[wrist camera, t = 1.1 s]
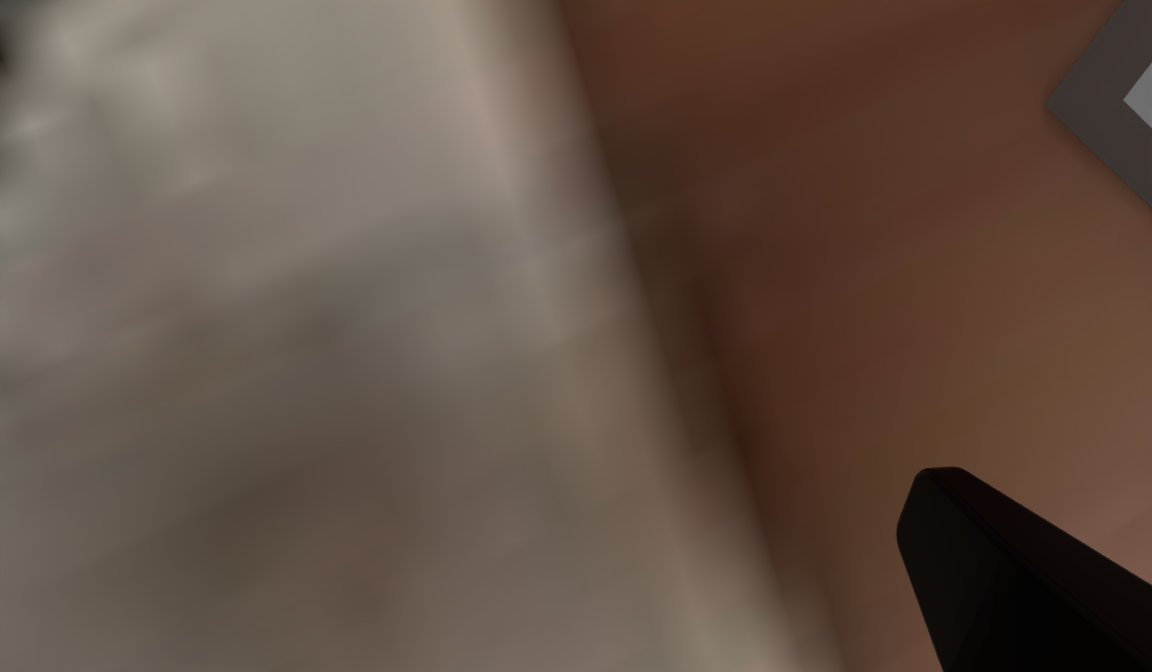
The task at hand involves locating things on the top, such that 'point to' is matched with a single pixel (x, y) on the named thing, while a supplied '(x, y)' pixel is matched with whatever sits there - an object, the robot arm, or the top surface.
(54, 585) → the top surface
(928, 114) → the top surface
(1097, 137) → the base brick
